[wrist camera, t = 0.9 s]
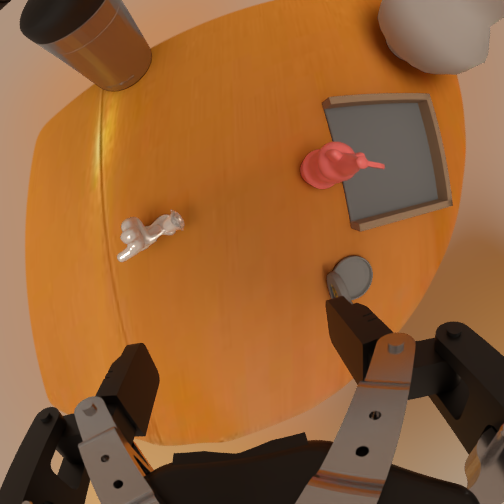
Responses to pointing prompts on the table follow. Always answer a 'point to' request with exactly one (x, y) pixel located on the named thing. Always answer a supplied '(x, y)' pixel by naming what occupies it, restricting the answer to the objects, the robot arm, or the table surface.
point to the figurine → (146, 233)
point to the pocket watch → (350, 278)
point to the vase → (440, 32)
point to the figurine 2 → (333, 165)
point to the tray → (391, 156)
